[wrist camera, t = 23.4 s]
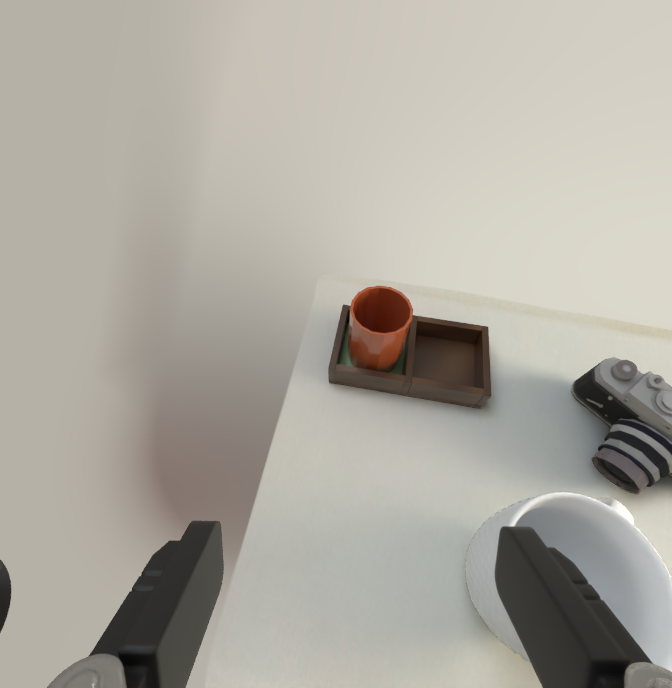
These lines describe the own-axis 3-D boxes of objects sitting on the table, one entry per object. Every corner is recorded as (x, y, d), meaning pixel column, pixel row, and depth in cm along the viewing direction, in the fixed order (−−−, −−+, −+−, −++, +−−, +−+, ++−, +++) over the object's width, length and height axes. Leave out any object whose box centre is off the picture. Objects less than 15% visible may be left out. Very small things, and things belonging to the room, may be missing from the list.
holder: (328, 382, 45) (328, 368, 42) (342, 320, 50) (343, 304, 47) (480, 408, 43) (491, 396, 40) (478, 342, 48) (488, 326, 45)
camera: (533, 419, 44) (562, 399, 35) (582, 372, 45) (623, 342, 36) (661, 533, 38) (737, 545, 29) (716, 477, 38) (807, 471, 29)
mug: (523, 470, 39) (597, 429, 28) (616, 566, 35) (749, 562, 24) (423, 565, 35) (465, 560, 24) (515, 691, 30) (622, 759, 19)
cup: (343, 371, 45) (345, 329, 37) (352, 328, 48) (355, 282, 41) (396, 380, 44) (410, 339, 37) (401, 335, 48) (414, 290, 40)
